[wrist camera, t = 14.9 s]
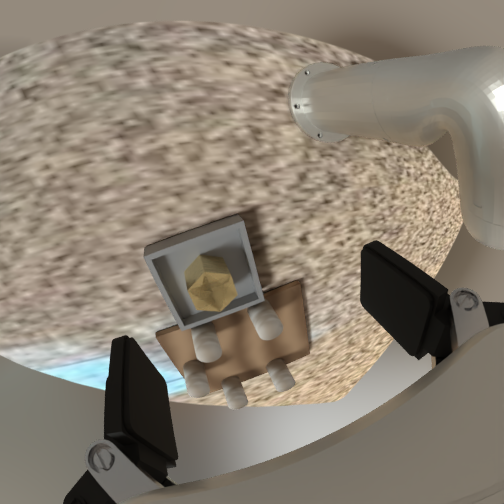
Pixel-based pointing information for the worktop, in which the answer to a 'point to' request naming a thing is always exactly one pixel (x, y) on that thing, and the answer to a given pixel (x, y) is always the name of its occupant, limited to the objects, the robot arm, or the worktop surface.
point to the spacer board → (241, 346)
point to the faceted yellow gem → (209, 283)
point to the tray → (212, 244)
